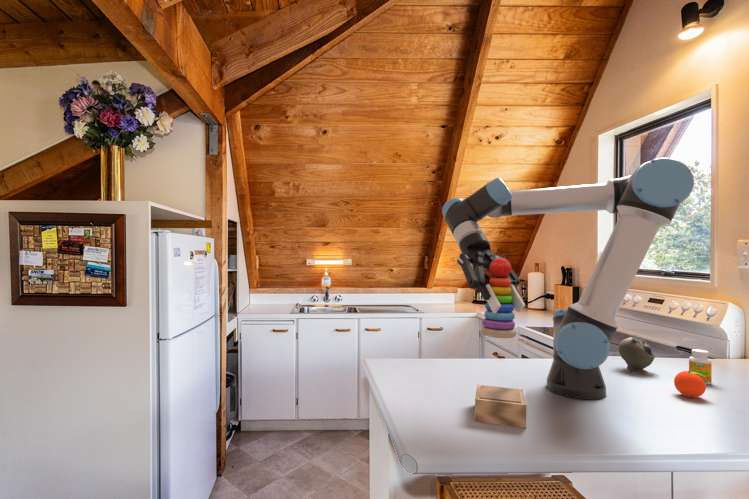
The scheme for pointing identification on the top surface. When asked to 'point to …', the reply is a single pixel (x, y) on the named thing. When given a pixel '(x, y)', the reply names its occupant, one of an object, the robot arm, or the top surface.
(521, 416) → the wooden block
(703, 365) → the supplement bottle
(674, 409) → the top surface
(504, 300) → the stacking toy
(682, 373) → the clementine
